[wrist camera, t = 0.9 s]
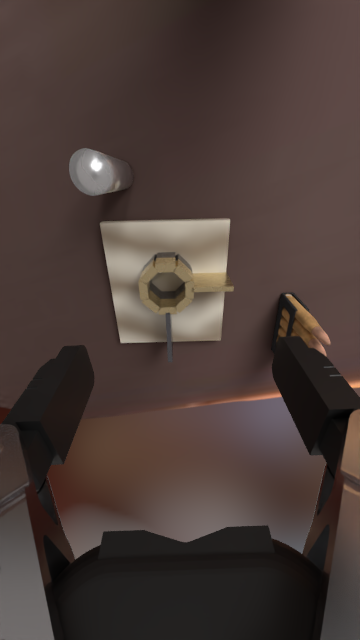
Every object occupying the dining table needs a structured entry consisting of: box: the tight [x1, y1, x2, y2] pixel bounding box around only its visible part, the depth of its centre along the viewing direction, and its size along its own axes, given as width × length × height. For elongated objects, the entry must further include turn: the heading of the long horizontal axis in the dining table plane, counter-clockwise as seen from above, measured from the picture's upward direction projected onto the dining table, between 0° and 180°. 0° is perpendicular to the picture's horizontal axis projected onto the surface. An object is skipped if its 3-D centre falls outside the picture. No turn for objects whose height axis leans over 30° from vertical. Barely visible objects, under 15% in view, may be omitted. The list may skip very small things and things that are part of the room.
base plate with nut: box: [100, 218, 234, 362], centre depth 33 cm, size 18×16×6 cm
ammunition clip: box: [271, 293, 330, 356], centre depth 34 cm, size 11×2×12 cm, turn 3°
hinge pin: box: [69, 148, 134, 196], centre depth 23 cm, size 3×3×12 cm
